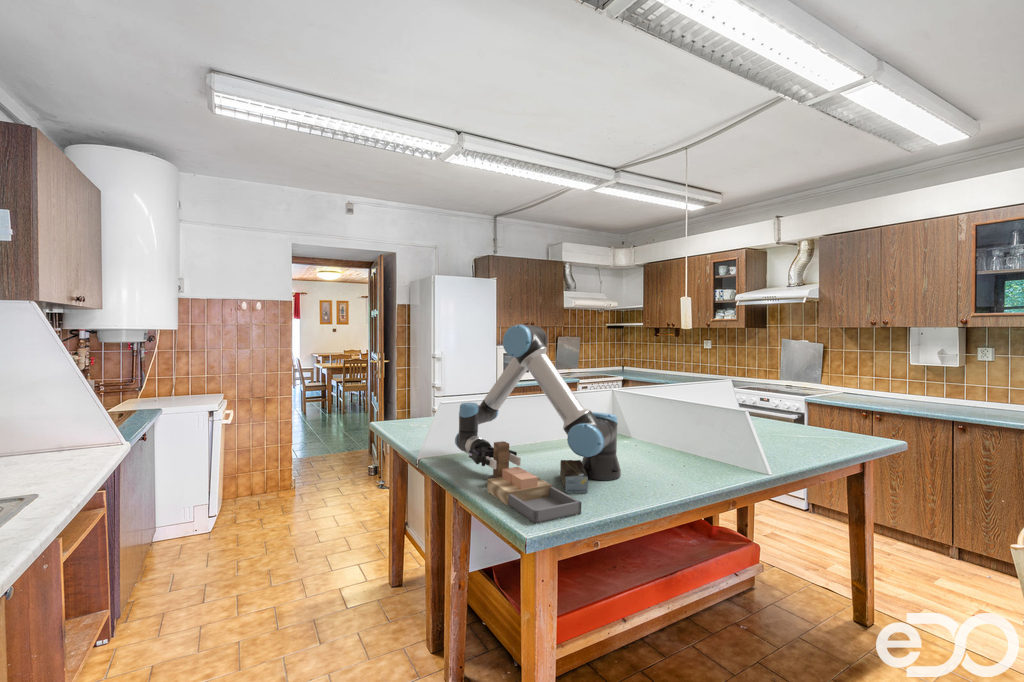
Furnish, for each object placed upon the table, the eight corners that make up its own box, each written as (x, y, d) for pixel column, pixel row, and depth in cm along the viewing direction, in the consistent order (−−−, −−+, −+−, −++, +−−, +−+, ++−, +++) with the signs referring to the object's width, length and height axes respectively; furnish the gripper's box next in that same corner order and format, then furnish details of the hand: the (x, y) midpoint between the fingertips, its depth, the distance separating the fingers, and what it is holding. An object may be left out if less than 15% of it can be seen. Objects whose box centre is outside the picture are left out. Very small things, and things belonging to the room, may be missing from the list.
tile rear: (502, 477, 158) (502, 469, 158) (517, 475, 161) (518, 466, 161) (511, 483, 153) (511, 473, 153) (527, 480, 156) (527, 471, 155)
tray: (508, 505, 144) (508, 494, 144) (551, 497, 152) (552, 486, 152) (535, 524, 131) (535, 511, 131) (581, 513, 139) (581, 502, 139)
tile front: (511, 483, 152) (511, 474, 152) (527, 480, 155) (527, 471, 155) (521, 489, 147) (521, 479, 147) (537, 486, 150) (537, 477, 150)
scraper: (487, 482, 165) (488, 442, 164) (507, 479, 169) (508, 440, 168) (493, 486, 161) (494, 445, 161) (513, 483, 165) (514, 443, 165)
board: (487, 491, 156) (487, 479, 156) (528, 484, 164) (528, 472, 164) (507, 505, 144) (508, 492, 144) (551, 497, 152) (551, 484, 152)
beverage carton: (563, 493, 156) (564, 473, 156) (559, 476, 175) (559, 458, 175) (588, 494, 156) (588, 474, 156) (581, 476, 175) (581, 458, 175)
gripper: (503, 454, 186) (534, 470, 166) (452, 461, 175) (478, 478, 155) (503, 435, 186) (534, 449, 166) (452, 441, 175) (479, 456, 155)
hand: (507, 463), depth 161 cm, fingers open, 9 cm apart
